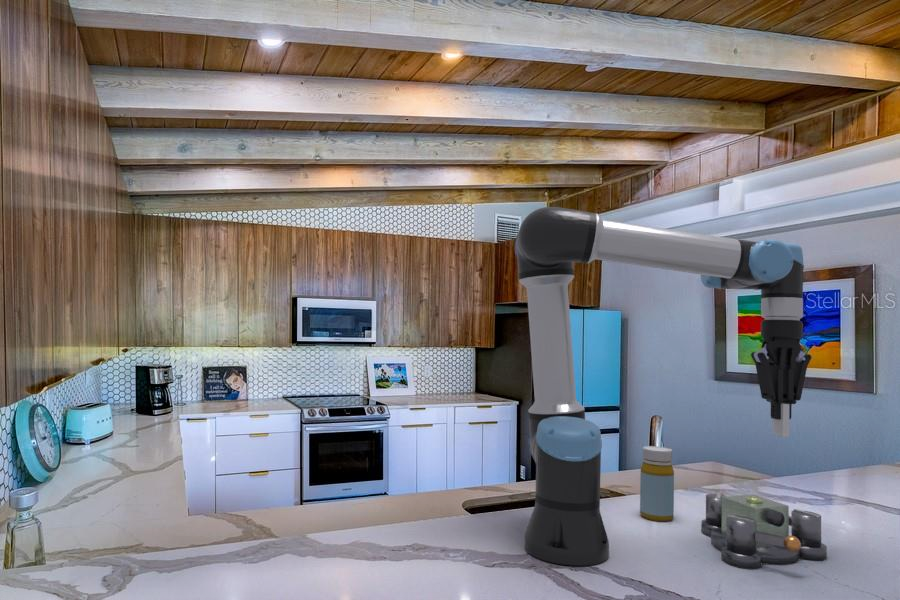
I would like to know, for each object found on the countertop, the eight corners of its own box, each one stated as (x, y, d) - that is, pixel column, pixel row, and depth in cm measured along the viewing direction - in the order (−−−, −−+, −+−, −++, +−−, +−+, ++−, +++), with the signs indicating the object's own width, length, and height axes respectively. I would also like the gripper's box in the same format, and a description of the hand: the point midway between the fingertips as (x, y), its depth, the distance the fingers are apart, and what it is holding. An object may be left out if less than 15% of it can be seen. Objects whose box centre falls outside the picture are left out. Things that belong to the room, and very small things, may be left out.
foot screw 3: (827, 544, 109) (826, 514, 109) (811, 548, 107) (811, 517, 107) (767, 525, 119) (767, 498, 120) (752, 528, 117) (752, 500, 118)
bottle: (676, 523, 126) (676, 452, 127) (641, 520, 127) (643, 450, 128) (670, 514, 133) (671, 447, 134) (638, 511, 134) (639, 444, 135)
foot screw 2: (722, 549, 105) (723, 517, 105) (730, 542, 108) (730, 512, 109) (797, 567, 97) (797, 533, 97) (803, 560, 101) (803, 527, 101)
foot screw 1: (731, 528, 117) (731, 500, 117) (705, 524, 119) (705, 496, 119) (731, 513, 128) (731, 487, 128) (707, 509, 130) (707, 484, 130)
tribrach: (741, 570, 101) (741, 513, 101) (663, 532, 120) (664, 484, 120) (834, 559, 108) (834, 505, 109) (747, 525, 127) (747, 479, 127)
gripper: (793, 321, 126) (792, 432, 124) (741, 318, 123) (740, 432, 121) (823, 320, 119) (822, 438, 117) (769, 317, 115) (768, 438, 114)
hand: (780, 435), depth 119 cm, fingers closed
